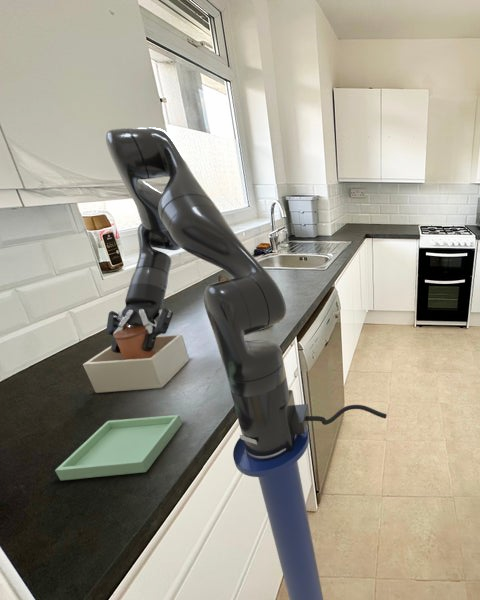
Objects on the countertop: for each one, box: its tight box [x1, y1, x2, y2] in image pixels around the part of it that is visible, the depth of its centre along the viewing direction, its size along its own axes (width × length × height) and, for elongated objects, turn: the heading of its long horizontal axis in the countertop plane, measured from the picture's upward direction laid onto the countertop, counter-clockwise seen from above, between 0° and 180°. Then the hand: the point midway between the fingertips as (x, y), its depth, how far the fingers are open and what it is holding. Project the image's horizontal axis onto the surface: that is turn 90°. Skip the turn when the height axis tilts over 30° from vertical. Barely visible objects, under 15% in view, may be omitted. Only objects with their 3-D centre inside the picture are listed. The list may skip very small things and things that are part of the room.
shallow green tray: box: [54, 414, 183, 481], centre depth 56 cm, size 13×11×2 cm
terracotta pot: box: [112, 326, 155, 360], centre depth 76 cm, size 6×6×9 cm
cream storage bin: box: [82, 333, 190, 394], centre depth 78 cm, size 15×13×8 cm
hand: (131, 351), depth 75 cm, fingers closed on terracotta pot, 6 cm apart
